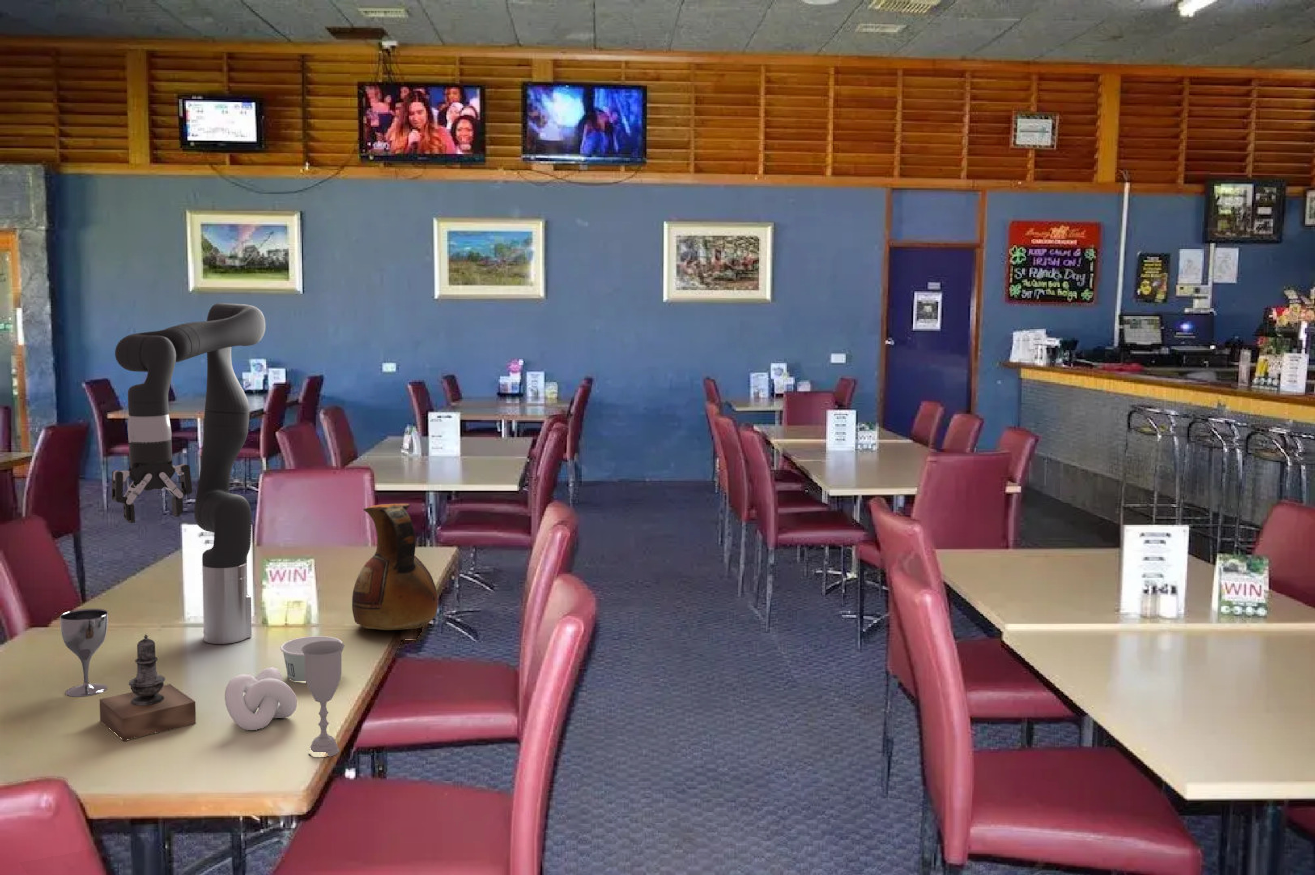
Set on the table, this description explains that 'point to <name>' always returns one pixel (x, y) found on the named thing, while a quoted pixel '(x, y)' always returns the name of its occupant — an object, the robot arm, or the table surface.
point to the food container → (299, 655)
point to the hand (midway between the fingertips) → (154, 519)
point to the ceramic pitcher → (394, 576)
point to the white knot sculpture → (259, 699)
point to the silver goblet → (84, 643)
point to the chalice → (323, 685)
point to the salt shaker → (146, 675)
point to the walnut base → (147, 713)
